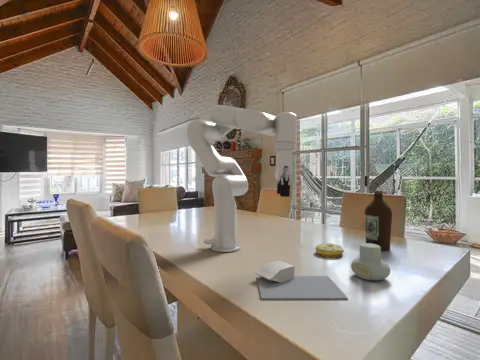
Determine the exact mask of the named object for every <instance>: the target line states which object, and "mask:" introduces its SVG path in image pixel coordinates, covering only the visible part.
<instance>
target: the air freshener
mask: <svg viewBox="0 0 480 360" xmlns="http://www.w3.org/2000/svg"><path fill="white" fill-rule="evenodd" d="M350 269H351V271H352V272H353V273H354V274H355V275H356V276H357V277H359V278H360V279H362V280H364V279H365V281H369V280H370V282H371V281H374V282H377V281H382V280H385V279H387V278H388V277H389V276H390V274H391V268H390V266H389V264H388V263H387V262H386V261H385V260H383V259H382V251H381V247H380V246H379V245H376V244H371V243H366V242H365V243H361V244H360V245H359V256H357V257H356V258H354V259H353V260H352V261H351V263H350Z"/></svg>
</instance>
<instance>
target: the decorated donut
mask: <svg viewBox="0 0 480 360" xmlns="http://www.w3.org/2000/svg"><path fill="white" fill-rule="evenodd" d="M315 251H316V253H317V254H318V255H319V256H321V257H326V258H339V257H341V256H342V255H343V253H344V251H345V249H344V248H343V247H342V246H341V245H338V244H335V243H331V242H330V243H328V242H327V243H320V244H317V245H316V246H315Z"/></svg>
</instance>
